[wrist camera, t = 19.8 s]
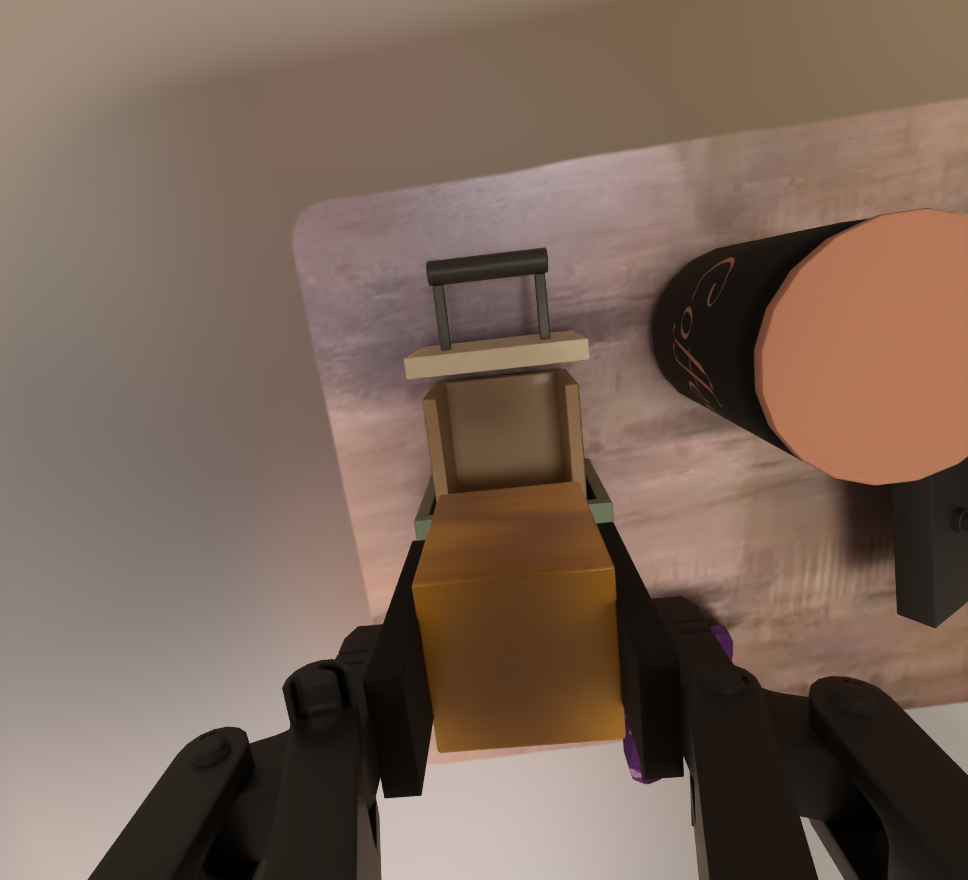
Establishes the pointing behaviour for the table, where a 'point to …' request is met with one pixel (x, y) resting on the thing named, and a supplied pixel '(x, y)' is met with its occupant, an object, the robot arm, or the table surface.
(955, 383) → the coffee jar
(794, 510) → the table surface
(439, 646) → the block
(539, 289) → the drawer
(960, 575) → the light fixture
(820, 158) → the table surface
